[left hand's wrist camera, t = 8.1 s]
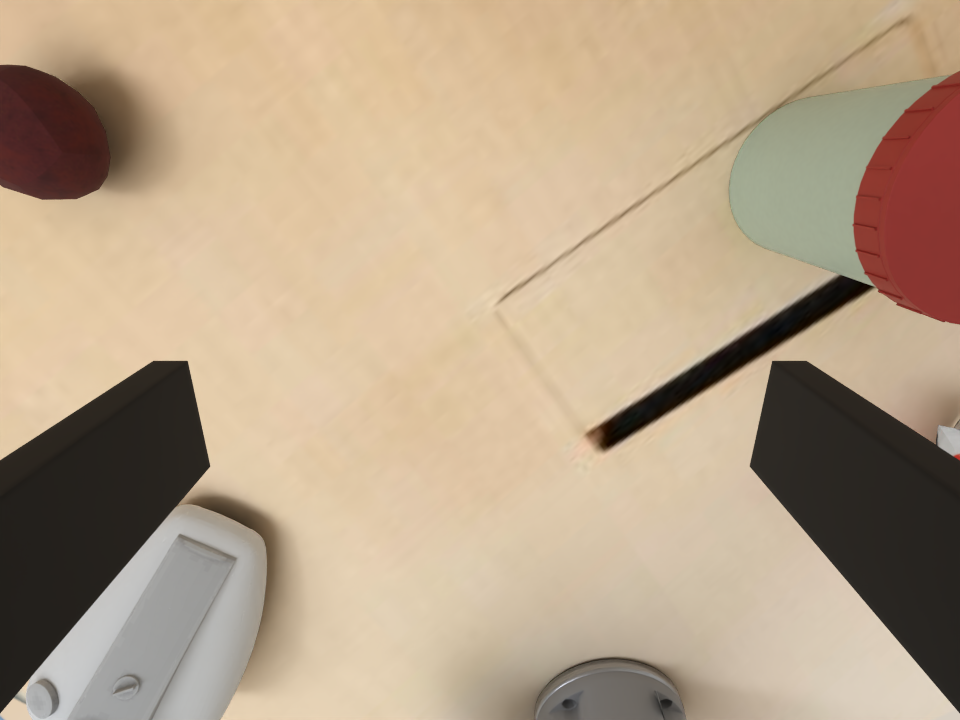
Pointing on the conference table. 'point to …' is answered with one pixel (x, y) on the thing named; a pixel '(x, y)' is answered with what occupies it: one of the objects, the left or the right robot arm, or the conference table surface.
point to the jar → (815, 172)
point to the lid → (915, 207)
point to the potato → (48, 137)
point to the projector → (163, 629)
